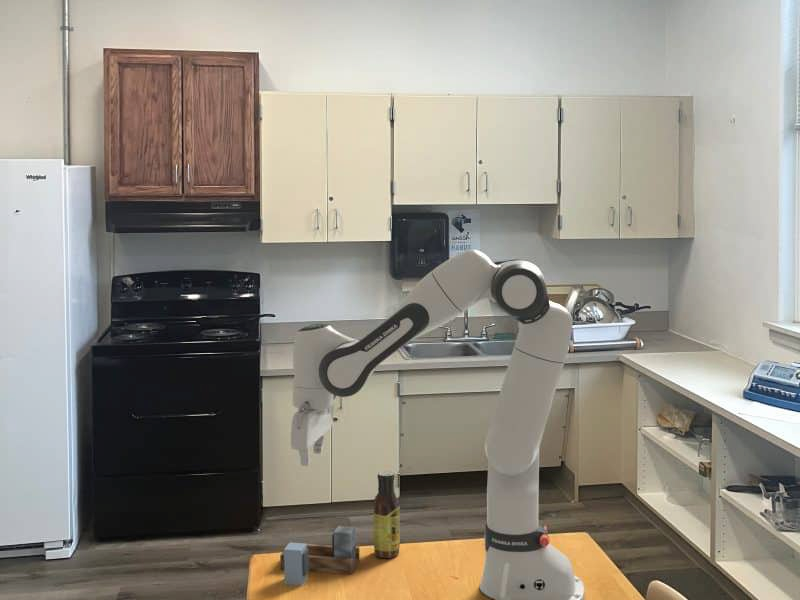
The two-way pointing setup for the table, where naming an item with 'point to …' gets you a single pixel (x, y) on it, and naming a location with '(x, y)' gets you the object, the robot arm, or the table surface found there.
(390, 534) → the sauce bottle
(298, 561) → the blue grey rectangular block
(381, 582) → the table surface
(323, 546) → the brown wooden open box
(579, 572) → the table surface
